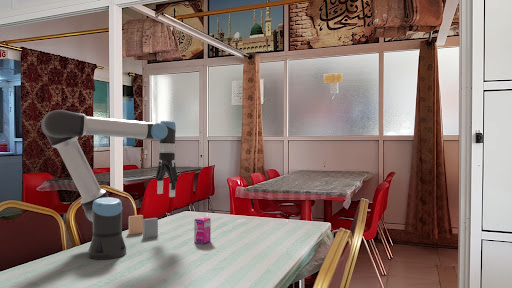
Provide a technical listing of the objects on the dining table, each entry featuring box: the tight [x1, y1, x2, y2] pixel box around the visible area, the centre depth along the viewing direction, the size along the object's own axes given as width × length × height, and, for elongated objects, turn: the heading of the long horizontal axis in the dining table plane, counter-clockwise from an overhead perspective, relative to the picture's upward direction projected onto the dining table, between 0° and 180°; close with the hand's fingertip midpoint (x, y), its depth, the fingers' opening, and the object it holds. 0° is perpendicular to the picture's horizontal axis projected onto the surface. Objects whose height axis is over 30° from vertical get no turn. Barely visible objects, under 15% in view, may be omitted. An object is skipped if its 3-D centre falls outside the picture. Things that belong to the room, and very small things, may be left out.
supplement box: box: [193, 216, 212, 245], centre depth 188 cm, size 6×6×12 cm
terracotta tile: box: [128, 214, 144, 235], centre depth 207 cm, size 7×2×9 cm, turn 128°
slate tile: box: [142, 217, 159, 239], centre depth 199 cm, size 7×2×9 cm, turn 128°
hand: (165, 195), depth 195 cm, fingers open, 13 cm apart
